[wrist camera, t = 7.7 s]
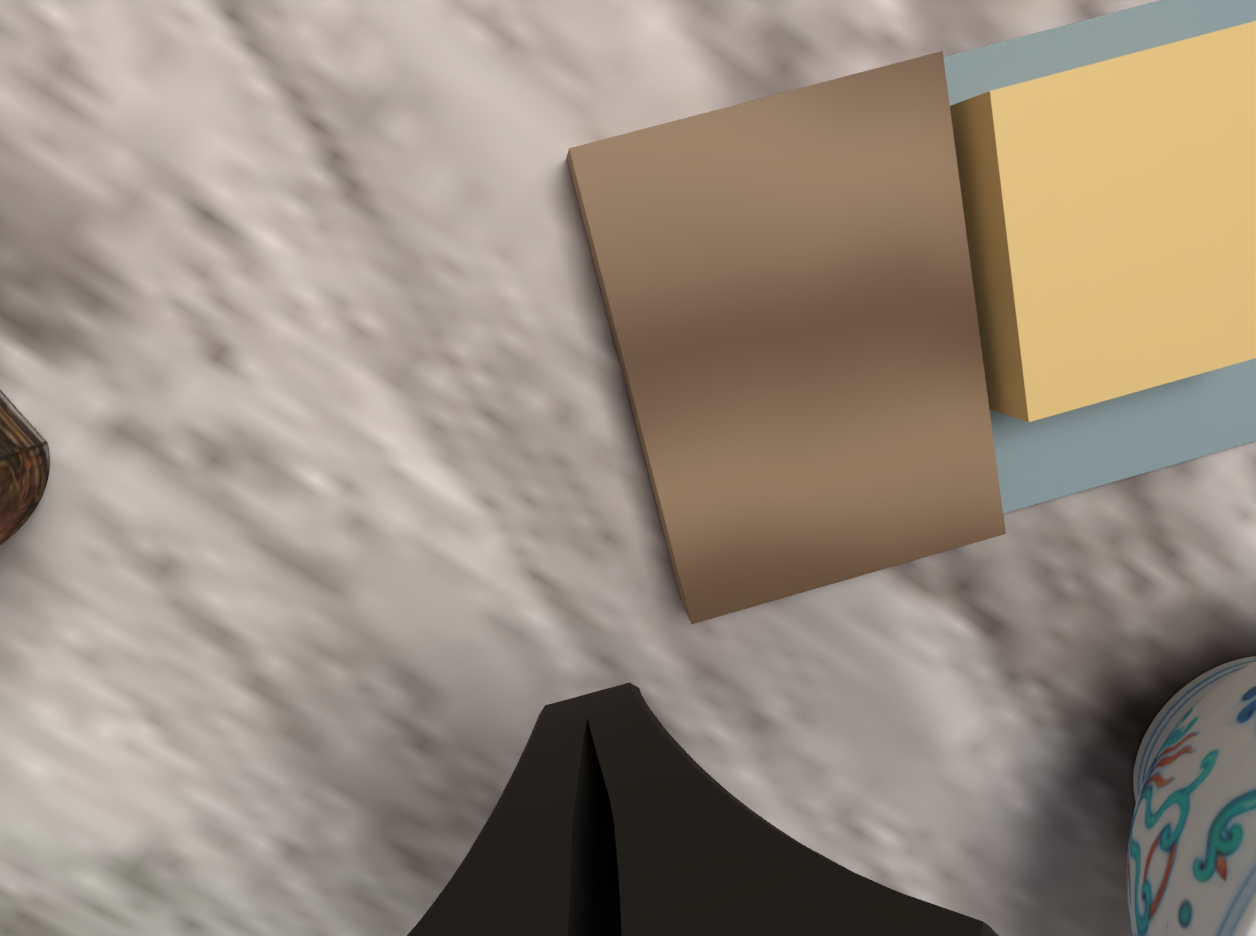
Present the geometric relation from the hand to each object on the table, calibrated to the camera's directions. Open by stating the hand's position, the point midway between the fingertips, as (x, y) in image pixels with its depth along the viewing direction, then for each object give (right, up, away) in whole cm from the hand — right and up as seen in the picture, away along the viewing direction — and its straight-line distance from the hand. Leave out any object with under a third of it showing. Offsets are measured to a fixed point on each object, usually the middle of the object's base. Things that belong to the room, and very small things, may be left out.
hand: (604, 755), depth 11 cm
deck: (+4, +7, +8) cm, 11 cm away
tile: (+11, +10, +8) cm, 17 cm away
